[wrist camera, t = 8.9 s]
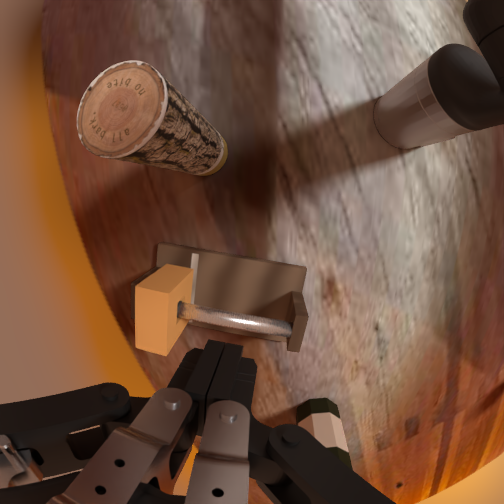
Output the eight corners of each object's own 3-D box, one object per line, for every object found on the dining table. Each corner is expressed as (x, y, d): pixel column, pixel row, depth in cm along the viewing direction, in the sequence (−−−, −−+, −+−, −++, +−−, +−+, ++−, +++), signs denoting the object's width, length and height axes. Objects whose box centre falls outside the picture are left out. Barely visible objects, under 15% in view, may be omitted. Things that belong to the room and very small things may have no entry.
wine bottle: (306, 393, 46) (322, 541, 17) (345, 401, 46) (380, 536, 17) (288, 421, 48) (289, 556, 18) (325, 429, 48) (343, 554, 18)
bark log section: (210, 185, 40) (123, 177, 15) (174, 160, 39) (62, 130, 15) (238, 147, 38) (187, 83, 14) (201, 122, 38) (115, 48, 14)
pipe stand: (305, 266, 41) (315, 289, 31) (289, 338, 44) (292, 374, 34) (161, 241, 42) (131, 256, 32) (157, 312, 45) (131, 340, 35)
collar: (193, 268, 38) (168, 293, 29) (189, 320, 40) (166, 356, 30) (166, 263, 38) (135, 286, 29) (163, 314, 40) (135, 347, 30)
